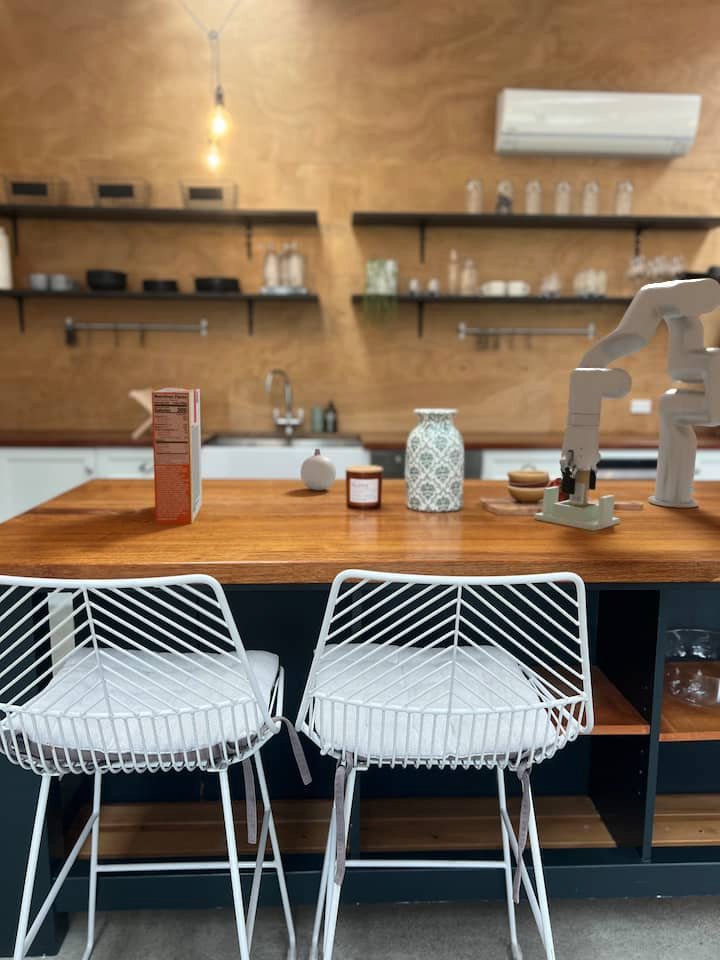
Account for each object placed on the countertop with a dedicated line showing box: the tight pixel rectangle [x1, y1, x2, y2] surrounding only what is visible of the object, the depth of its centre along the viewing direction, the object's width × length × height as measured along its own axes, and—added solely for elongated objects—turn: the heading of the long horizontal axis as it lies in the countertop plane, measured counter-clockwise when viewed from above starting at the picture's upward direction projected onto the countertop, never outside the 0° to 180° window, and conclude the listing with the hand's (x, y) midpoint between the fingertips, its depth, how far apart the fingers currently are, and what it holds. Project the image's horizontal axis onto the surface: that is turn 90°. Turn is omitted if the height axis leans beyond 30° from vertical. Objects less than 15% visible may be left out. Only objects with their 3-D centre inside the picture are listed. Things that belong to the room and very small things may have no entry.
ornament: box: [300, 448, 337, 491], centre depth 211 cm, size 10×10×12 cm
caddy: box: [534, 486, 620, 532], centre depth 176 cm, size 12×16×7 cm
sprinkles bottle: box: [569, 463, 591, 508], centre depth 175 cm, size 5×5×14 cm
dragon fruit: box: [546, 477, 570, 502], centre depth 192 cm, size 8×8×12 cm
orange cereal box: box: [151, 387, 203, 525], centre depth 175 cm, size 23×8×30 cm, turn 6°
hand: (578, 491), depth 175 cm, fingers open, 9 cm apart
